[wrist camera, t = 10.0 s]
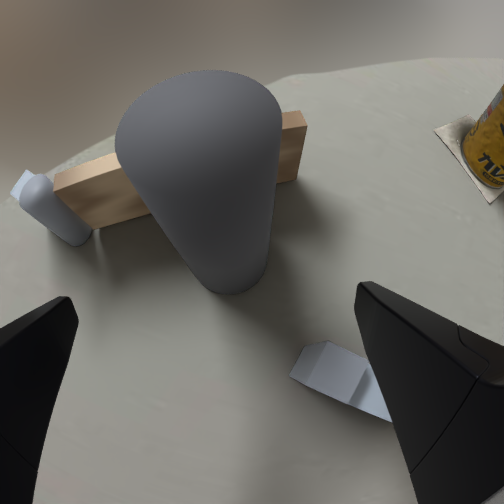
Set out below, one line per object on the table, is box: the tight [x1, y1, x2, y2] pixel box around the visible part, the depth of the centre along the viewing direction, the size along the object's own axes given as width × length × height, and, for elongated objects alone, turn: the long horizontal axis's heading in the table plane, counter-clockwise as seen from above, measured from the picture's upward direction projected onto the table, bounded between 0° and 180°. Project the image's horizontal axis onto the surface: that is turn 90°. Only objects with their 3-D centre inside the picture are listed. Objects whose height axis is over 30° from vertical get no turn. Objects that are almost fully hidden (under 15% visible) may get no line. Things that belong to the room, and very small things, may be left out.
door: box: [53, 110, 308, 230], centre depth 18 cm, size 14×2×6 cm, turn 104°
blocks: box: [10, 170, 392, 422], centre depth 15 cm, size 28×2×6 cm, turn 61°
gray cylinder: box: [115, 70, 282, 294], centre depth 14 cm, size 5×5×12 cm
